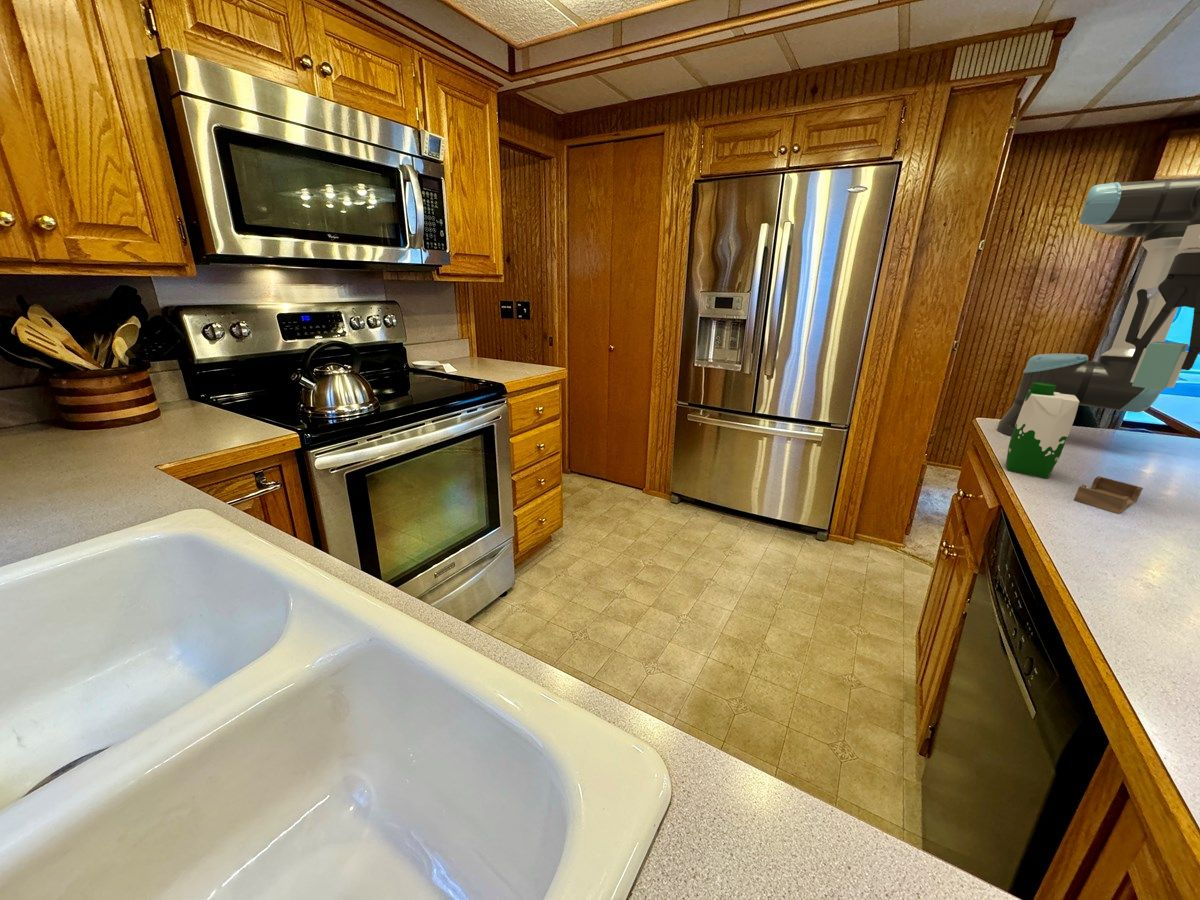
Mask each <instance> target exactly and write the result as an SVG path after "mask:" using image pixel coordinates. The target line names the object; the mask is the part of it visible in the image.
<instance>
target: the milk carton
mask: <svg viewBox="0 0 1200 900" xmlns="http://www.w3.org/2000/svg"><path fill="white" fill-rule="evenodd" d="M1055 388H1056V385H1054V384H1049V383H1041V382H1033V383H1032V386H1031V389H1030V390H1029V391H1028V394H1027V396H1026V398H1025V401H1024V403H1023V406H1022V408H1021V411H1020V413H1019V416H1018V419H1017V422H1016V425H1015V428H1014V431H1013V433H1012V436H1010V439H1009V440H1010V441H1009V443H1008V446H1007V447H1008V448H1007V455H1006V461H1005V462H1006V470H1007V471H1008V472H1013V473H1018V474H1024V475H1029V476H1032V477H1033V476H1035V477H1038V478H1042V477H1043V479H1048V478H1049V477H1050V475H1051V473H1052V471H1053V470H1054V468H1055V466H1056V464H1057V463H1058V461H1059V459H1060V458H1061V455H1062V453H1063V449H1064V447H1065V446H1066V445H1065V444H1066V442H1067V439H1068V437H1069V435H1070V433H1071V430H1072V427H1073V424H1074V421H1075V419H1076V416H1077V413H1078V408H1079V406H1080V405H1079V402H1080V401H1079V400H1078V399H1077V398H1076V396H1075V395H1068V394H1060V393H1058V392H1054V391H1055Z"/></svg>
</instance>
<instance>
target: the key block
mask: <svg viewBox="0 0 1200 900" xmlns="http://www.w3.org/2000/svg"><path fill="white" fill-rule="evenodd" d="M1189 345H1190V343H1185V342H1184V343H1182V342H1181V343H1180V342H1170V341H1168V342H1167V341H1164V342H1160V341H1157V342H1152V343H1149V346H1148V348H1147V350H1146V353H1145V355H1144V358H1143V360H1142V362H1141V365H1140V367H1139V370H1138V372H1137V374H1136V377H1135V379H1134V382H1133V384H1132V386H1135V387H1142V388H1150V389H1157V390H1162V391H1164V390H1165V389H1167V388H1168V387H1166V386H1167V384H1168V381H1169V379H1170V377H1171V375H1172V372H1173V370H1174V368H1175V366H1176V363H1177V361H1178V359H1179V357H1180V354H1181V352H1183V351H1187V348H1189Z"/></svg>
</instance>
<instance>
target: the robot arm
mask: <svg viewBox="0 0 1200 900" xmlns="http://www.w3.org/2000/svg"><path fill="white" fill-rule="evenodd" d="M1087 193H1088V194H1087V196H1086V199H1085V202H1084V205H1083V208H1082V212H1081V215H1080V217H1079V224H1081V225H1084V226H1085V225H1086V226H1087V225H1088V227H1089V228H1090V229H1092V230H1093V231H1094V232H1098V233H1100V234H1104V235H1110V236H1114V237H1124V238H1143V240H1142V243H1141V246H1142V247H1143V248H1144V249H1145V250H1146V251H1147V254H1146V257H1145V259H1144V262H1143V265H1142V267H1141V270H1140V272H1139V275H1138V277H1137V280H1136V282H1135V285H1134V288H1133V291H1132V293H1131V295H1130V299H1129V301H1128V303H1127V307H1126V309H1125V312H1124V315H1123V317H1122V319H1121V322H1120V324H1119V328H1118V331H1117V333H1116V336H1115V338H1114V339H1113V342H1112V346H1111V348H1110V349H1108V350H1107V351H1105V352H1104V353H1101V354H1100V355H1099V357H1098V361H1096V360H1095V361H1094V360H1089V356H1088V355H1087V354H1084V353H1083V354H1082V353H1067V352H1065V353H1042V354H1041V353H1040V354H1036V355H1033V356H1032V357H1030V358H1029V359H1028V360H1027V364H1026V366H1025V368H1024V370H1023V371H1022V372H1023V375H1022V377H1021V378H1022V379H1021V380H1020V383H1019V387H1018V389H1017V392H1016V394H1015V397H1014V400H1013V404H1012V406H1011V407H1010V408H1009V409H1008V410H1007V412H1006V413H1005V414H1004V415H1003V416H1002V418H1001V419H1000V420H999V422H998V424H997V428H996V429H997V431H998V432H1000V433H1002V434H1004V435H1007V436H1010V437H1011V436H1012V433H1013V431H1014V428H1015V425H1016V422H1017V419H1018V416H1019V413H1020V411H1021V408H1022V406H1023V403H1024V401H1025V398H1026V396H1027V394H1028V391H1029V390H1030V389H1031V386H1032V383H1033V382H1041V383H1049V384H1054V385H1056V388H1055V391H1054V392H1058V393H1060V394H1068V395H1075V396H1076V398H1077V399H1078V400H1079V401H1080V402H1079V405H1078V406H1087V407H1091V408H1092V407H1094V408H1099V409H1100V408H1101V409H1106V410H1114V411H1117V412H1121V411H1122V412H1131V413H1141V412H1144V411H1147V410H1148V409H1149V408H1150V407H1151V406H1152V405H1153V404H1154V402H1155V401H1156V400H1157V398H1158V397H1159V396H1160V395H1161V393H1162V391H1163V390H1157V389H1150V388H1142V387H1135V386H1132V384H1133V382H1134V379H1135V377H1136V374H1137V372H1138V370H1139V367H1140V365H1141V362H1142V360H1143V358H1144V355H1145V353H1146V350H1147V348H1148V346H1149V343H1152V342H1157V341H1160V342H1166V338H1167V335H1168V334H1169V331H1170V329H1171V326H1172V324H1173V321H1174V319H1175V317H1176V314H1177V311H1178V308H1182V307H1187V308H1190V309H1191V308H1192V309H1193V317H1192V323H1191V331H1190V339H1189V345H1188V351H1187V350H1186V351H1183V352H1181V354H1180V357H1179V359H1178V361H1177V363H1176V366H1175V368H1174V370H1173V372H1172V375H1171V377H1170V379H1169V381H1168V384H1167V386H1166V387H1167V388H1169V389H1170V388H1171V389H1172V388H1175V385H1176V383H1177V381H1178V379H1179V376H1180V374H1181V373H1182V371H1190V370H1191V369H1192V368H1193V366H1194V365H1195V362H1196V360H1197V358H1198V355H1199V354H1200V176H1199V177H1186V178H1185V177H1184V178H1169V179H1161V180H1144V181H1143V180H1142V181H1141V180H1140V181H1128V182H1127V181H1124V182H1123V181H1122V182H1118V181H1114V182H1109V183H1108V182H1107V183H1099V184H1095V185H1093V186H1092V187H1090V188H1089V190H1088V192H1087Z"/></svg>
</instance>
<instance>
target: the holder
mask: <svg viewBox="0 0 1200 900" xmlns="http://www.w3.org/2000/svg"><path fill="white" fill-rule="evenodd" d="M1143 489H1144V487H1141V486H1139V485H1134V484H1130V483H1127V482H1122V481H1120V480H1114V479H1112V478H1108V477H1104V476H1100V475H1098V476H1096V477H1094V480H1093V482H1092V485H1091V487H1090V488H1088V485H1086V484H1081V485H1079V486H1078V489H1077V491H1076V493H1075V495H1074V498H1073V501H1075V502H1078V503H1082V504H1085V505H1089V506H1092V507H1094V508H1098V509H1101V510H1104V511H1105V510H1106V511H1108V512H1111V513H1115V514H1118V515H1119V514H1121V513H1122V512H1124V511H1125V510H1127V509H1128V508H1130V507H1131V506H1132V505H1133V503H1134V504H1135V503H1136V502H1137V501H1138V500H1139V497H1140V495H1141V493H1142V491H1143ZM1130 505H1131V506H1130ZM1126 508H1127V509H1126Z"/></svg>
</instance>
